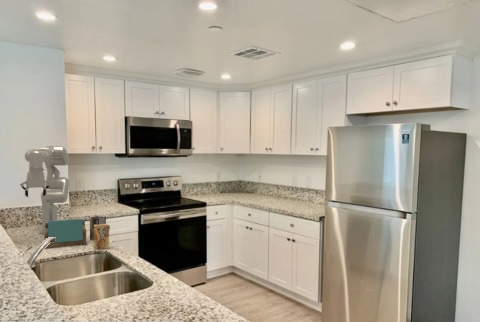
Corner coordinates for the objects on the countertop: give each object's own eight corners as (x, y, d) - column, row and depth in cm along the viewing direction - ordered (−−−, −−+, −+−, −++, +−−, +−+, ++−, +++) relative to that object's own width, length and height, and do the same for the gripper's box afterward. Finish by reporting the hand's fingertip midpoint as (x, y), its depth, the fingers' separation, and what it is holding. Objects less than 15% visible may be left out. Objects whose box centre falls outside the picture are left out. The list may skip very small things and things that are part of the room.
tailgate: (48, 242, 214) (48, 221, 214) (82, 239, 224) (82, 218, 223) (48, 243, 213) (48, 221, 213) (82, 240, 223) (83, 219, 222)
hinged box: (45, 242, 226) (45, 223, 226) (84, 238, 238) (84, 220, 237) (44, 248, 212) (44, 228, 212) (86, 244, 224) (86, 225, 223)
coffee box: (106, 239, 236) (106, 217, 236) (98, 242, 231) (99, 218, 230) (96, 238, 240) (96, 215, 240) (89, 240, 234) (89, 217, 234)
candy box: (108, 246, 220) (108, 223, 219) (108, 248, 216) (109, 225, 216) (93, 248, 216) (93, 224, 216) (93, 250, 212) (94, 226, 212)
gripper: (49, 169, 228) (49, 194, 229) (19, 169, 217) (19, 196, 217) (52, 170, 223) (51, 196, 223) (21, 170, 211) (20, 197, 212)
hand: (35, 196), depth 220 cm, fingers open, 9 cm apart
